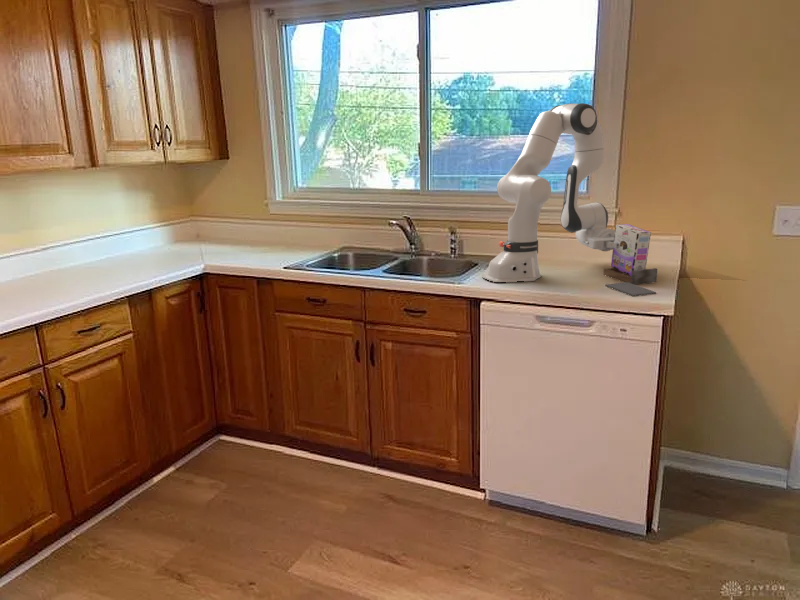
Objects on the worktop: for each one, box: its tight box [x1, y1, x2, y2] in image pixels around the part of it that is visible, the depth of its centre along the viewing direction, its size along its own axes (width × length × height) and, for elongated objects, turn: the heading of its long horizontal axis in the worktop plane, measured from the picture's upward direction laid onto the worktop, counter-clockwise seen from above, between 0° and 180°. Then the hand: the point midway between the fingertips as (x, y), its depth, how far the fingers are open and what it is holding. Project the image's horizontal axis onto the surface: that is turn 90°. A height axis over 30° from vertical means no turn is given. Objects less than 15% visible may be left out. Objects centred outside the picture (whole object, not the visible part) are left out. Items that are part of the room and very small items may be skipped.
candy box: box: [610, 223, 652, 276], centre depth 229 cm, size 14×6×16 cm, turn 15°
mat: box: [605, 282, 657, 297], centre depth 216 cm, size 9×16×1 cm, turn 16°
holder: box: [603, 267, 658, 285], centre depth 232 cm, size 10×18×5 cm, turn 16°
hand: (625, 245), depth 232 cm, fingers closed on candy box, 6 cm apart
